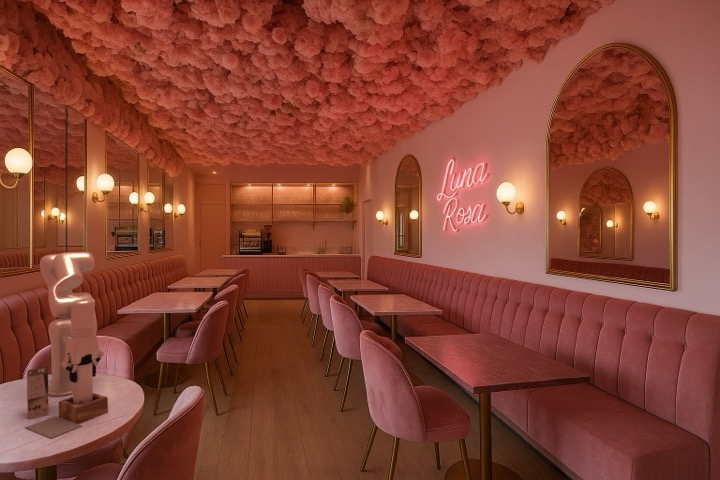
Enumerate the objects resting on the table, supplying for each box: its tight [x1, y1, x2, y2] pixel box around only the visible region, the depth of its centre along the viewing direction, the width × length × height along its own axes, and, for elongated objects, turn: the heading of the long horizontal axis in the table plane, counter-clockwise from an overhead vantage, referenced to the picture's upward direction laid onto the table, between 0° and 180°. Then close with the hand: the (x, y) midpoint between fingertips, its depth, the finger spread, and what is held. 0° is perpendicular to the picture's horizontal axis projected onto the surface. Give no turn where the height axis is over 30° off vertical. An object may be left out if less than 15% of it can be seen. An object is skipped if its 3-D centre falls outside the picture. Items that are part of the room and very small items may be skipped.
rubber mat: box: [25, 415, 83, 440], centre depth 152 cm, size 16×10×1 cm, turn 64°
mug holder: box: [58, 392, 109, 425], centre depth 162 cm, size 12×11×6 cm
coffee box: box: [26, 366, 49, 419], centre depth 163 cm, size 9×6×16 cm
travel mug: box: [72, 354, 94, 405], centre depth 162 cm, size 6×7×20 cm
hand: (83, 378), depth 162 cm, fingers closed on travel mug, 6 cm apart
